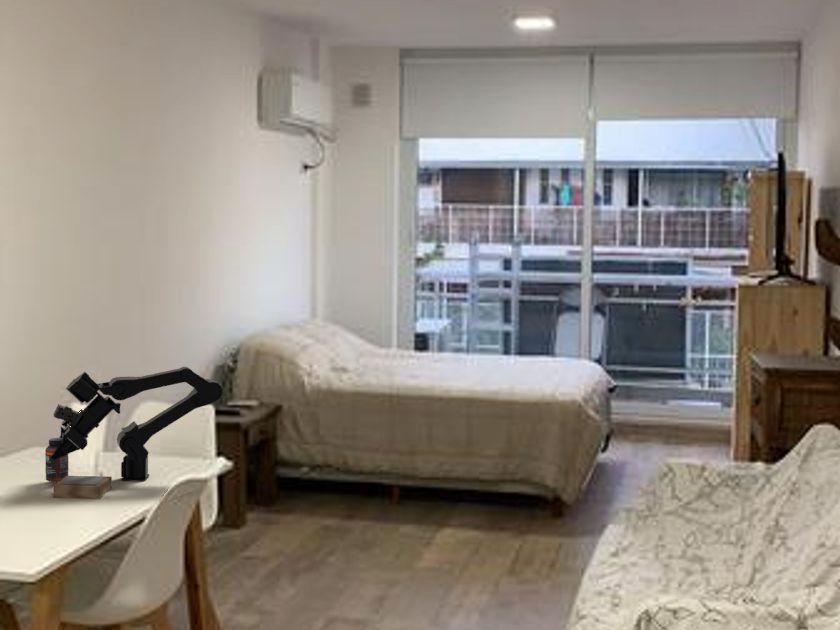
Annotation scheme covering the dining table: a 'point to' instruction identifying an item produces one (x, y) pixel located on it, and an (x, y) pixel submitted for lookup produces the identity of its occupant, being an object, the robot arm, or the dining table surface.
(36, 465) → the dining table surface
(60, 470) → the supplement bottle
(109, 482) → the walnut base
